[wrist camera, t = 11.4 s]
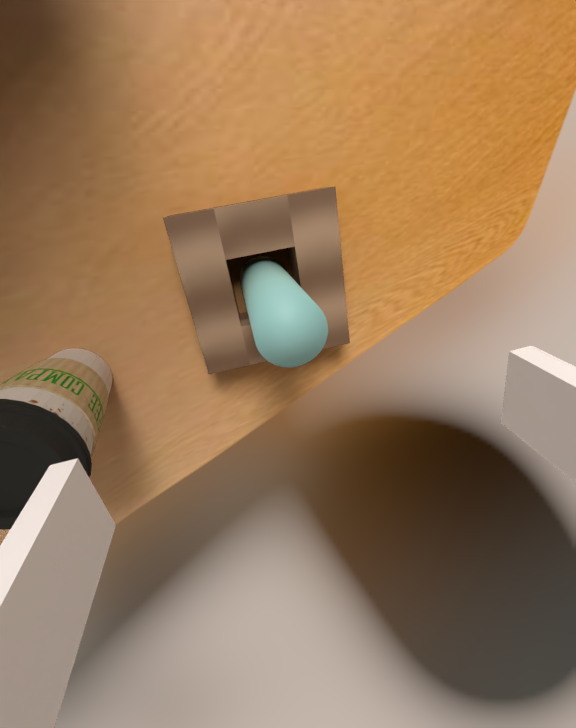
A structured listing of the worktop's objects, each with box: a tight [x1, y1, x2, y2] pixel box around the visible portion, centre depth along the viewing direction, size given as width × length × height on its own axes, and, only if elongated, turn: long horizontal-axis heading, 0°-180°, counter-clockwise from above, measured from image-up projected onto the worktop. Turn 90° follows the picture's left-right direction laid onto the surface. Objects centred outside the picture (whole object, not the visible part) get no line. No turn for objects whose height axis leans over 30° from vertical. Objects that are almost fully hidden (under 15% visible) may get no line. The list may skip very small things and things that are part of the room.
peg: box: [240, 256, 328, 368], centre depth 28 cm, size 4×4×16 cm
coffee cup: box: [0, 348, 113, 529], centre depth 30 cm, size 10×10×15 cm
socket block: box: [163, 187, 350, 374], centre depth 34 cm, size 14×14×4 cm
